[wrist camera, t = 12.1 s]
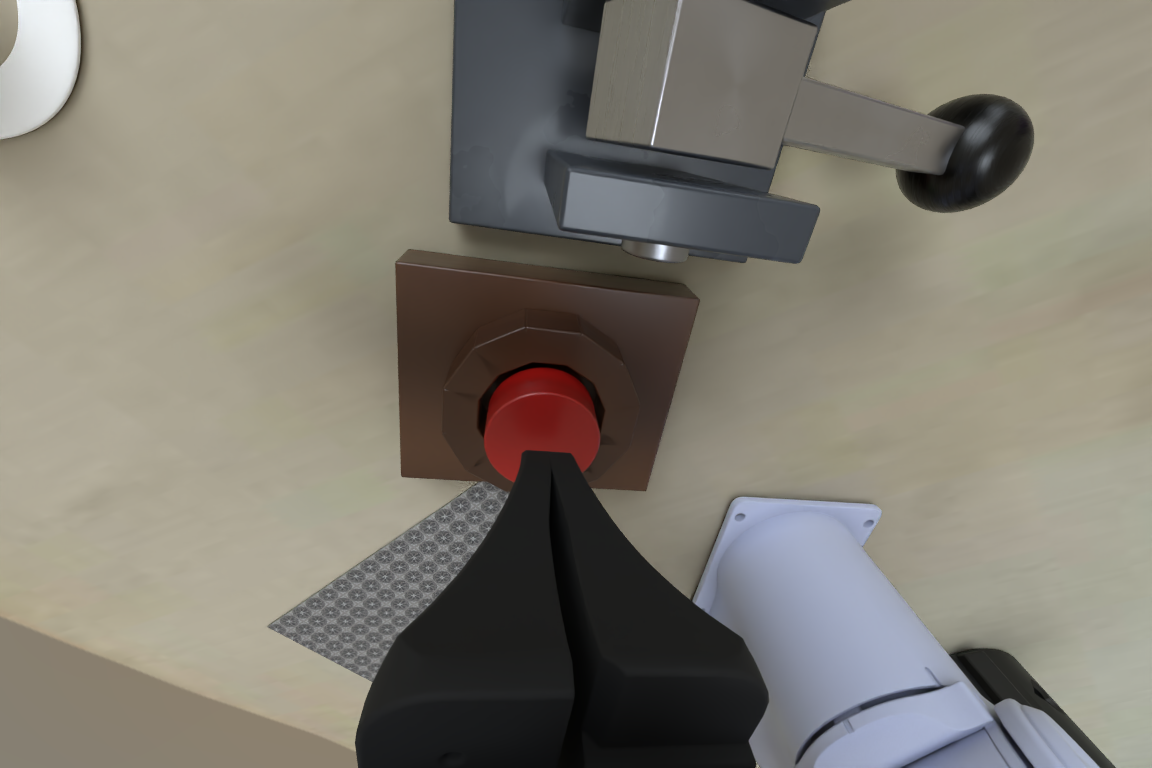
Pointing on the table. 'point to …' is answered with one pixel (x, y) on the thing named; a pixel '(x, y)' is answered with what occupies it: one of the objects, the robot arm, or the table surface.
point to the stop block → (533, 358)
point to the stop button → (540, 419)
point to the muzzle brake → (1019, 691)
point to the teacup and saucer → (39, 65)
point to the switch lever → (785, 103)
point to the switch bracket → (594, 148)
